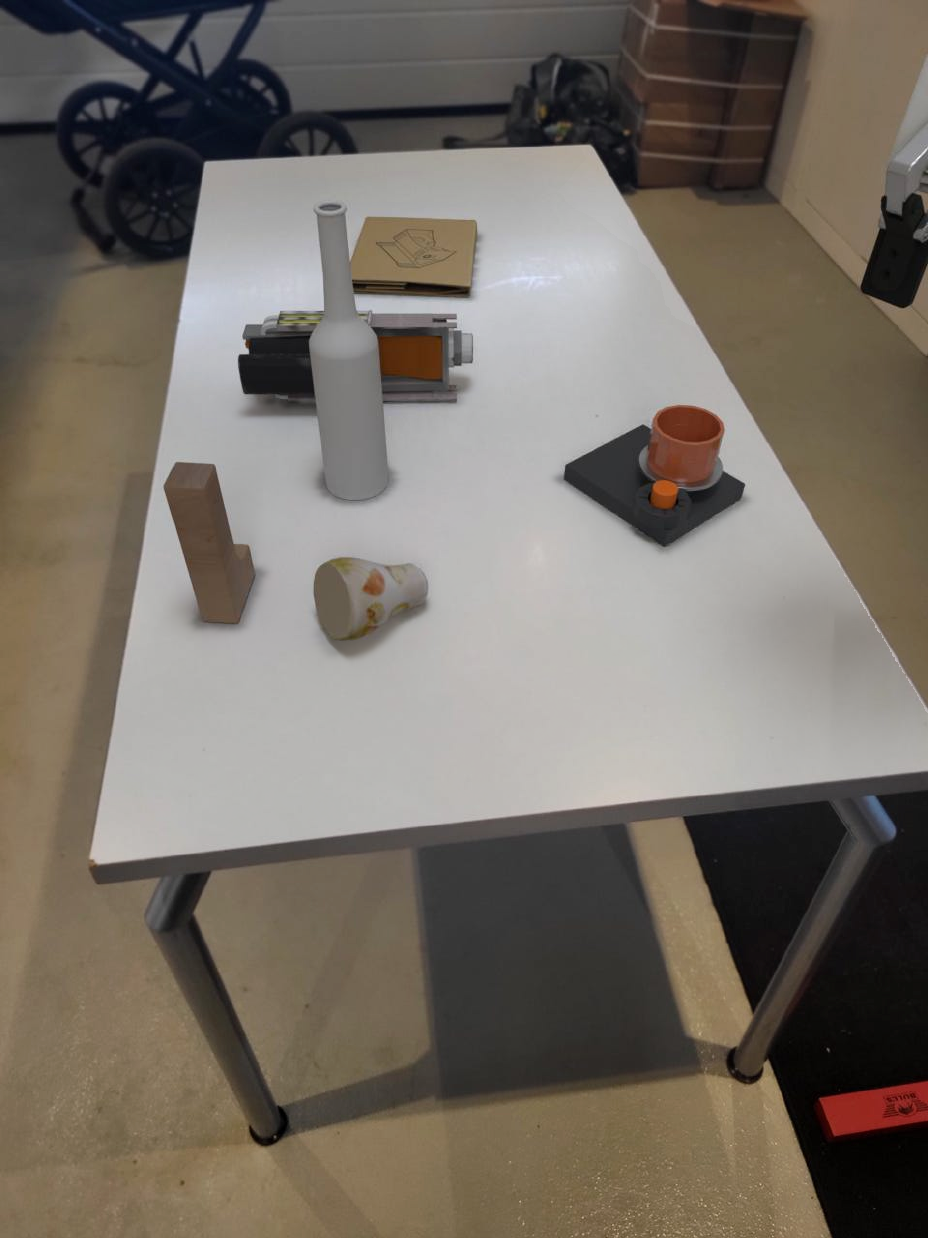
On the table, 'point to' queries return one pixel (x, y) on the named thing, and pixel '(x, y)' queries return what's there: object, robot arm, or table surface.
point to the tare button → (664, 494)
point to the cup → (684, 443)
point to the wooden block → (209, 542)
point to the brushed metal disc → (681, 486)
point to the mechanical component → (406, 354)
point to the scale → (645, 489)
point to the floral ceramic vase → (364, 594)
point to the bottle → (346, 373)
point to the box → (414, 256)
